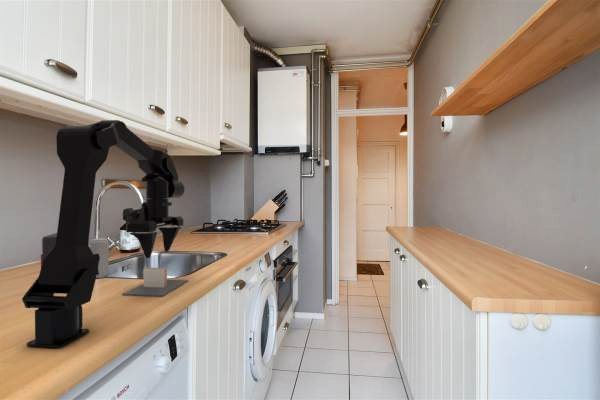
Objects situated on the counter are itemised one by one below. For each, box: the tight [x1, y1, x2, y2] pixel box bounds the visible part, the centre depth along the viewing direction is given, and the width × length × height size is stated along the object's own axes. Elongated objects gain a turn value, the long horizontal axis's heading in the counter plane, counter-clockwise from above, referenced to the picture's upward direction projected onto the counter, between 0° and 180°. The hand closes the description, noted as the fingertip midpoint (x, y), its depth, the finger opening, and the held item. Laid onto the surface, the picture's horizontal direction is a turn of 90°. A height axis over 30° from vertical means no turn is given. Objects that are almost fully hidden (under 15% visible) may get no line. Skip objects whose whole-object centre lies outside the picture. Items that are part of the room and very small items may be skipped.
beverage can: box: [89, 237, 110, 279], centre depth 98 cm, size 5×5×12 cm
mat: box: [121, 279, 189, 298], centre depth 86 cm, size 14×11×1 cm
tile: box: [142, 267, 168, 288], centre depth 86 cm, size 2×6×5 cm, turn 84°
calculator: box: [40, 232, 57, 268], centre depth 86 cm, size 11×4×15 cm, turn 21°
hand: (157, 254), depth 86 cm, fingers open, 9 cm apart
